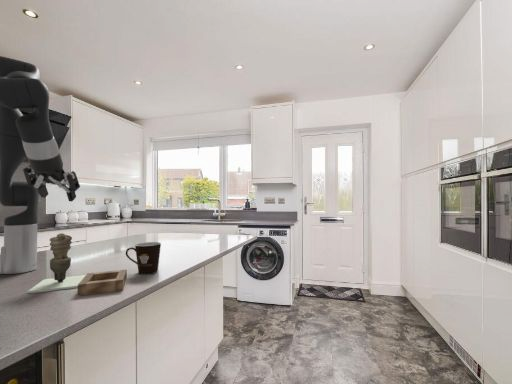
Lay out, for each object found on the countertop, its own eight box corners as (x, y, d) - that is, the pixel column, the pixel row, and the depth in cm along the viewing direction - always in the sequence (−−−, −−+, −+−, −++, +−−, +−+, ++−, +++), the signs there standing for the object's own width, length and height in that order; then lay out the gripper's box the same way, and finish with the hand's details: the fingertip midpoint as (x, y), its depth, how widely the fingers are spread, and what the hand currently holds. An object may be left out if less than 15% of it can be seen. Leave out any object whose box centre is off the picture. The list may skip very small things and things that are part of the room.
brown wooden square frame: (77, 296, 70) (77, 284, 70) (87, 283, 81) (87, 273, 81) (122, 290, 74) (123, 279, 74) (126, 278, 85) (126, 269, 85)
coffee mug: (166, 270, 95) (166, 242, 96) (147, 276, 88) (147, 246, 88) (143, 267, 100) (143, 241, 101) (123, 272, 92) (123, 244, 93)
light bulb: (56, 285, 77) (59, 234, 78) (42, 283, 78) (45, 233, 79) (74, 280, 82) (76, 232, 83) (60, 278, 84) (63, 232, 85)
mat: (27, 293, 72) (27, 291, 72) (44, 281, 83) (44, 279, 84) (78, 287, 77) (78, 285, 77) (87, 276, 88) (87, 274, 88)
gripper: (76, 150, 77) (88, 194, 87) (27, 143, 77) (44, 188, 86) (59, 162, 71) (74, 208, 80) (6, 154, 71) (26, 201, 80)
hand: (58, 198), depth 83 cm, fingers open, 8 cm apart
